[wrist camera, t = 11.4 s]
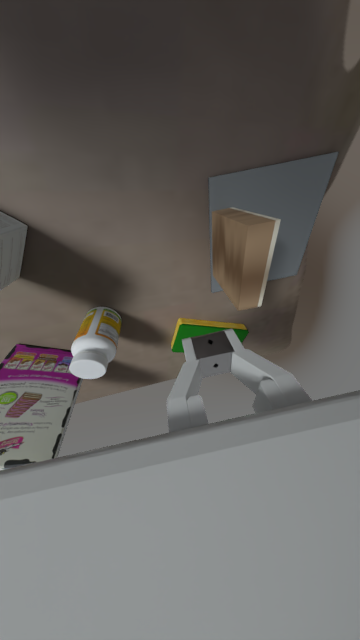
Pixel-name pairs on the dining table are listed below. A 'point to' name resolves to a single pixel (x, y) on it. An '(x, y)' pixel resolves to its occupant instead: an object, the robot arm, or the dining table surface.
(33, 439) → the candy bar box
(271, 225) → the slab
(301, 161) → the mat
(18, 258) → the supplement box
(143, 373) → the dining table surface
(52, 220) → the dining table surface
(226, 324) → the dish sponge
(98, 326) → the supplement bottle
